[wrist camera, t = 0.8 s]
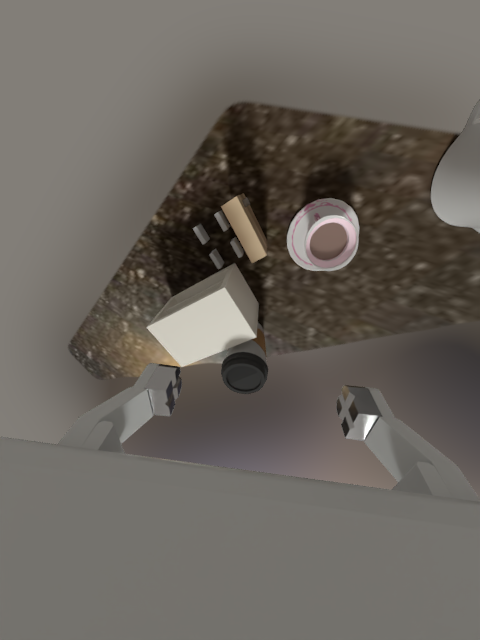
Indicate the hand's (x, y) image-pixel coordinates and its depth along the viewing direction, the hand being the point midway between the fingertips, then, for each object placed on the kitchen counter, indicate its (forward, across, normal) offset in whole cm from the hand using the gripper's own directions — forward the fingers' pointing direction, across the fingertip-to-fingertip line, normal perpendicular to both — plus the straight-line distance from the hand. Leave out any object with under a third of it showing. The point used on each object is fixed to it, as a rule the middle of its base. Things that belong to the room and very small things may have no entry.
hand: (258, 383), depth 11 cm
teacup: (+34, -10, -1) cm, 36 cm away
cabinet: (+34, +10, +9) cm, 37 cm away
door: (+34, +3, -3) cm, 34 cm away
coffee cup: (+34, +1, +20) cm, 40 cm away
